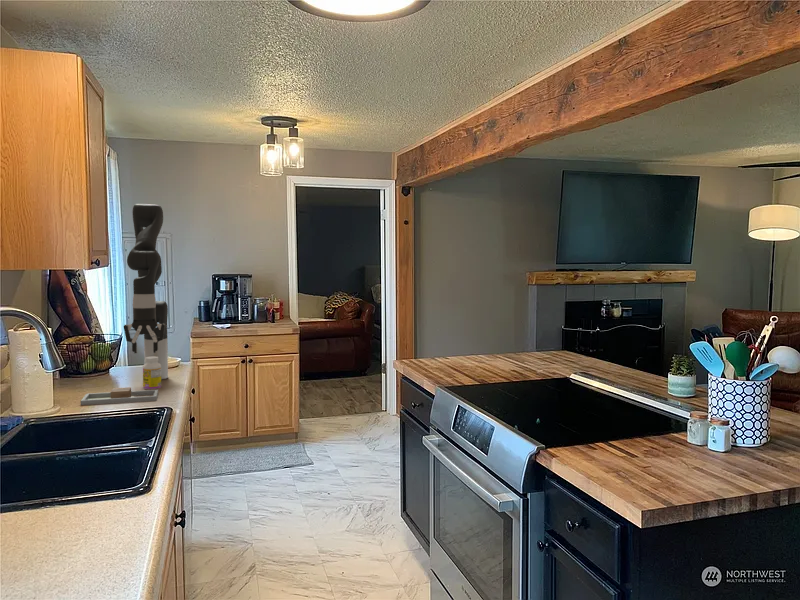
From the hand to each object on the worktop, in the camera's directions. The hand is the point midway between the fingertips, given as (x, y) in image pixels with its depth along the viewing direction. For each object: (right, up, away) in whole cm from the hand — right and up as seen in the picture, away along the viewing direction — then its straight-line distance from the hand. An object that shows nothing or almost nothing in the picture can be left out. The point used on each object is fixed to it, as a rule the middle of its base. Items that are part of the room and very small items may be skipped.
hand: (145, 352), depth 211 cm
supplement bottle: (-5, -16, +19) cm, 25 cm away
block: (-8, -17, -1) cm, 19 cm away
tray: (-8, -18, -1) cm, 19 cm away
